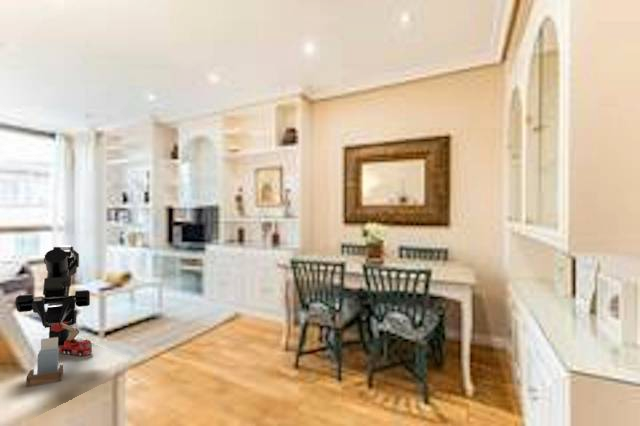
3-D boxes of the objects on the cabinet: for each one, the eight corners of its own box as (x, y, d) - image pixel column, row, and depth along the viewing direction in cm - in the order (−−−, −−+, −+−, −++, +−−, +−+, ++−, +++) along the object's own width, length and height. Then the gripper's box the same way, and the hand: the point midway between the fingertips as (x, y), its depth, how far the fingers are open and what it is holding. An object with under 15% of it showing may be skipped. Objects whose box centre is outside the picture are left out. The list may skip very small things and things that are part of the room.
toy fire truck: (85, 357, 117) (85, 327, 117) (49, 353, 120) (50, 323, 120) (93, 353, 120) (94, 324, 120) (59, 349, 123) (59, 320, 123)
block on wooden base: (39, 371, 106) (40, 339, 106) (58, 368, 108) (59, 336, 108) (37, 376, 103) (38, 343, 103) (56, 373, 105) (57, 341, 105)
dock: (33, 370, 107) (34, 361, 107) (65, 365, 110) (65, 357, 110) (26, 386, 97) (26, 377, 97) (61, 380, 101) (61, 371, 101)
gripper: (17, 268, 109) (7, 314, 100) (90, 265, 119) (87, 307, 109) (22, 289, 116) (13, 334, 107) (90, 285, 126) (88, 325, 116)
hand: (51, 324), depth 110 cm, fingers open, 4 cm apart
